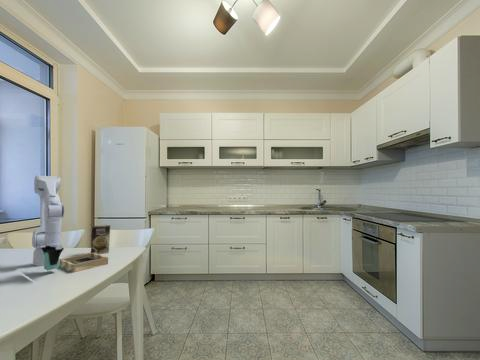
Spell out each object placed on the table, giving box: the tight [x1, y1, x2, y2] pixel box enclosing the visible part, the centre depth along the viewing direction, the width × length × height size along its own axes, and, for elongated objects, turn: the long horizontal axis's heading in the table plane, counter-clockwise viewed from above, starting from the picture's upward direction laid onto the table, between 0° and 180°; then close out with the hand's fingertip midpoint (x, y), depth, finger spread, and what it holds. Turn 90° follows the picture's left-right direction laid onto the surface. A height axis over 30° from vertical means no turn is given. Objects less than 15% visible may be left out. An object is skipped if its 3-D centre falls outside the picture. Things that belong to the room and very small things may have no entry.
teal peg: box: [43, 252, 60, 271], centre depth 103 cm, size 4×4×7 cm
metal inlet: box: [70, 256, 97, 264], centre depth 113 cm, size 8×8×2 cm
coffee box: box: [90, 224, 111, 255], centre depth 137 cm, size 9×6×16 cm
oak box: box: [59, 252, 109, 274], centre depth 113 cm, size 15×15×4 cm
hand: (51, 263), depth 103 cm, fingers closed on teal peg, 4 cm apart
